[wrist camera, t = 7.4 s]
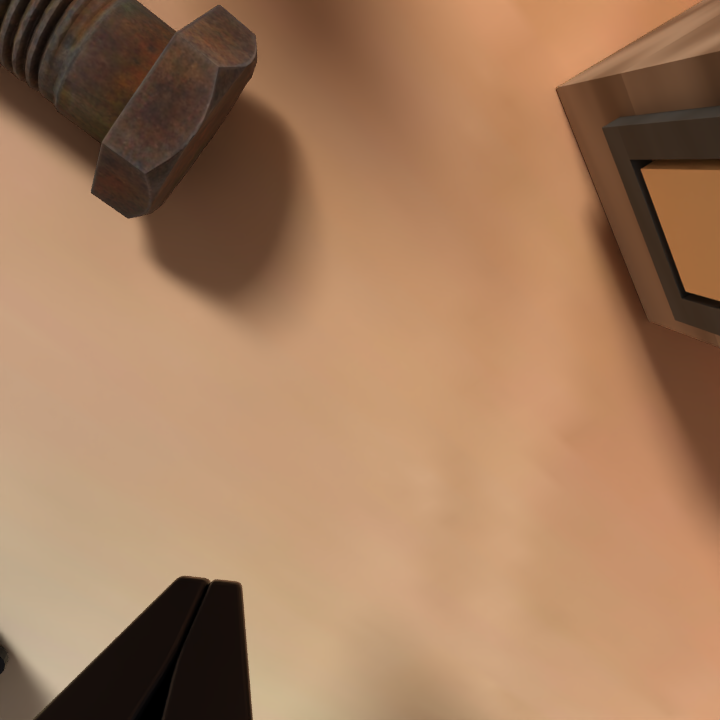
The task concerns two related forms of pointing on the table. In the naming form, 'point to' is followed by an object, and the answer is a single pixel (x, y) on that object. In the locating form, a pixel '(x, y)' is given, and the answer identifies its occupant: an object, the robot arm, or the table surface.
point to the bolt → (131, 85)
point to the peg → (689, 218)
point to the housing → (652, 148)
